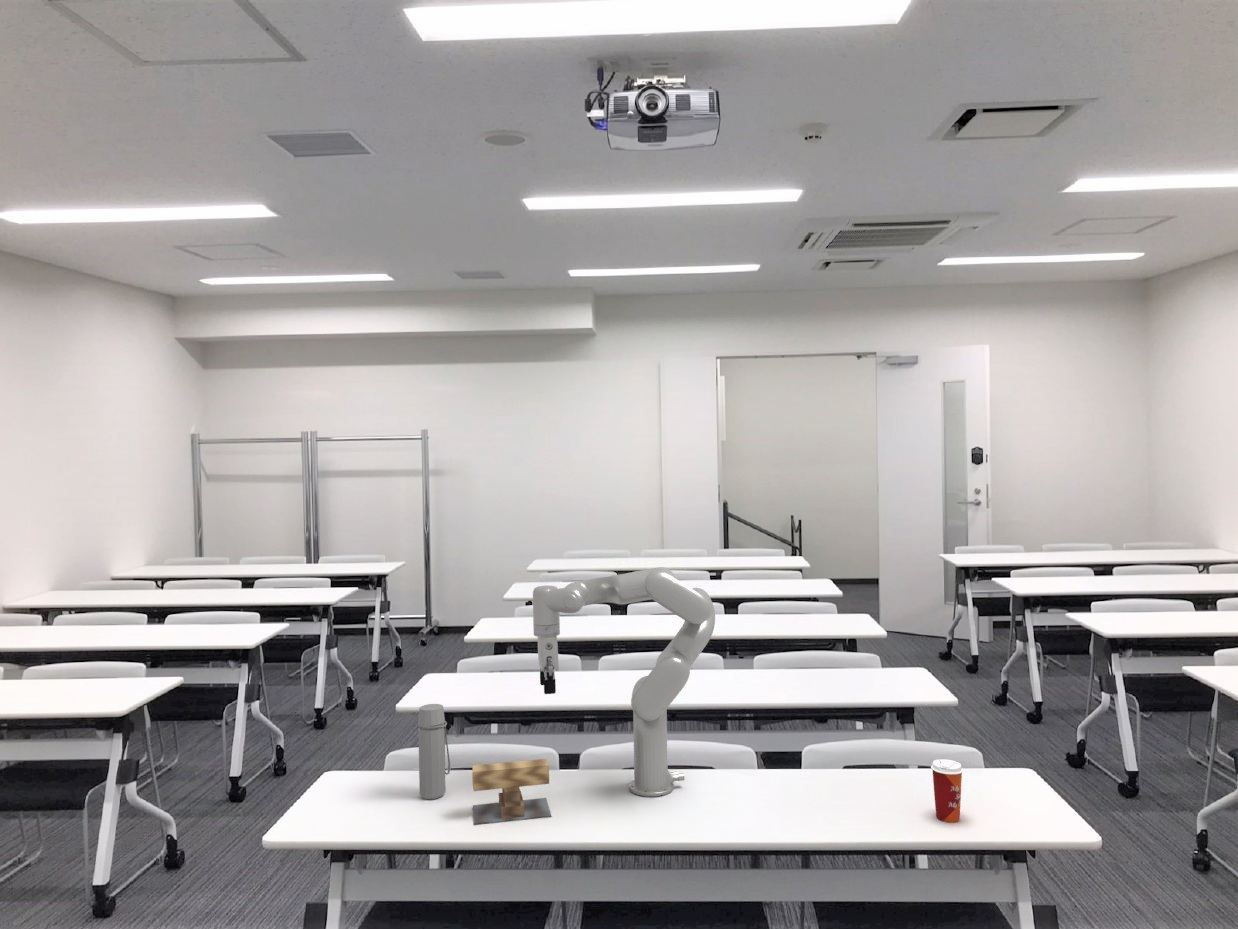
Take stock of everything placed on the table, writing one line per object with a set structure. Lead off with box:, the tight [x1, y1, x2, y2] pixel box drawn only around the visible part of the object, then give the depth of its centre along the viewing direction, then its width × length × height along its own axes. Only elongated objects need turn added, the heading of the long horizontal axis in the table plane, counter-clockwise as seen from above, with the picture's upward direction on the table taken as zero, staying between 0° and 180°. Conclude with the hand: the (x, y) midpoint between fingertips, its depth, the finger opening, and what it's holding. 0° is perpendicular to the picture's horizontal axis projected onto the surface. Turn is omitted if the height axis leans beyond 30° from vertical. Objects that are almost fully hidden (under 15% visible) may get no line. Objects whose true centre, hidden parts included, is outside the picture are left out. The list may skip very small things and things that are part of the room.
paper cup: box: [930, 758, 964, 824], centre depth 216 cm, size 8×8×14 cm
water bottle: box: [417, 703, 451, 800], centre depth 237 cm, size 9×8×25 cm
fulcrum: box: [472, 787, 552, 826], centre depth 225 cm, size 20×12×7 cm, turn 102°
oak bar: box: [472, 758, 550, 792], centre depth 225 cm, size 20×5×5 cm, turn 102°
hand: (547, 689), depth 241 cm, fingers open, 9 cm apart
